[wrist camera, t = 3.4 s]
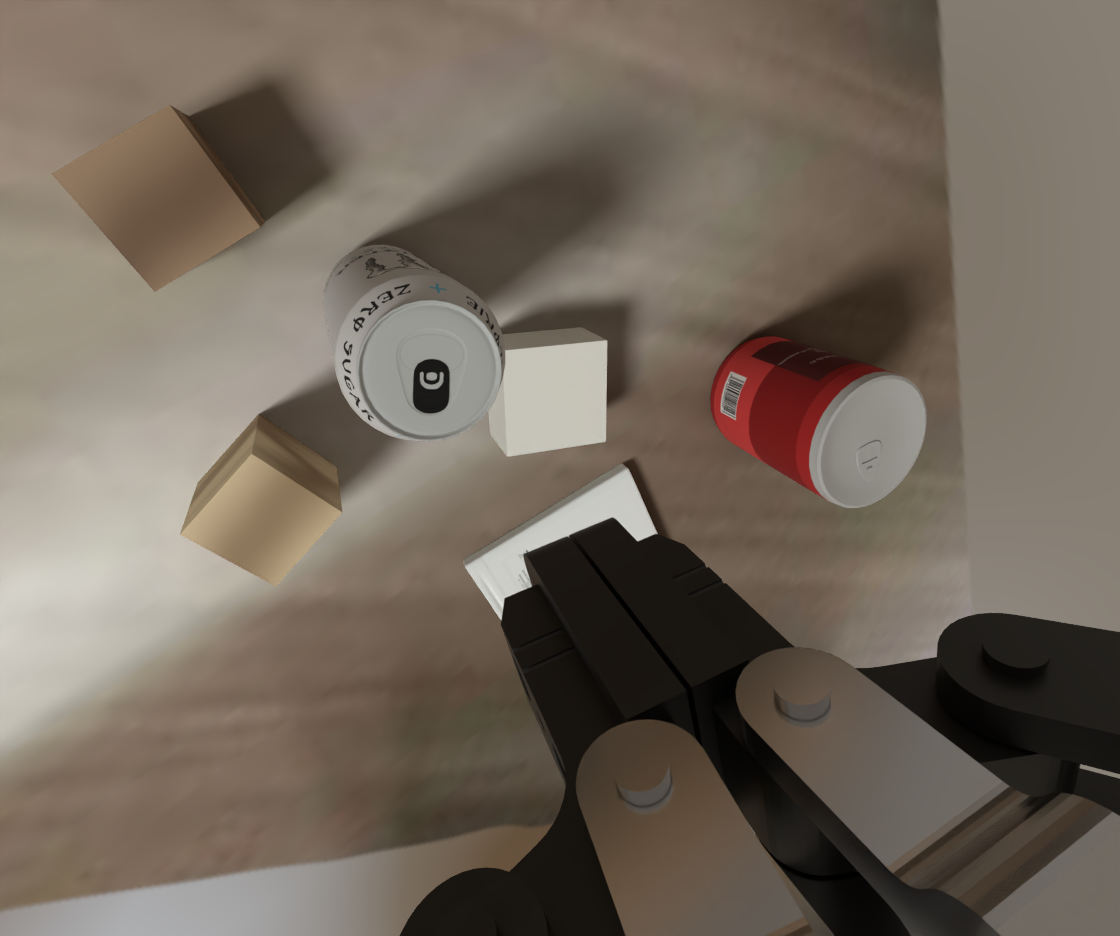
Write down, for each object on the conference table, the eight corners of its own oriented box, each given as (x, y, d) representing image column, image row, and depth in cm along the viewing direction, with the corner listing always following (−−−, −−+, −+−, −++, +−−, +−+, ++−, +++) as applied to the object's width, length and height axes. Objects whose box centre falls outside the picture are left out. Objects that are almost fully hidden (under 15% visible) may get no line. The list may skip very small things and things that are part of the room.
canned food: (730, 463, 47) (839, 534, 37) (688, 376, 43) (798, 431, 33) (813, 402, 47) (941, 456, 38) (779, 310, 43) (913, 346, 34)
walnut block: (89, 175, 28) (51, 173, 24) (189, 116, 29) (169, 104, 24) (174, 276, 31) (154, 291, 27) (265, 221, 31) (260, 227, 27)
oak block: (197, 482, 35) (180, 534, 30) (258, 413, 34) (251, 453, 29) (279, 530, 37) (275, 586, 32) (336, 466, 37) (342, 512, 32)
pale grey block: (483, 335, 37) (502, 350, 34) (580, 326, 39) (607, 340, 36) (489, 433, 40) (507, 456, 36) (580, 420, 41) (605, 441, 38)
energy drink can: (441, 247, 34) (525, 285, 22) (437, 359, 37) (512, 455, 24) (320, 237, 32) (334, 273, 19) (324, 357, 34) (338, 461, 22)
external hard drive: (657, 545, 48) (513, 636, 47) (618, 459, 44) (460, 556, 43) (668, 556, 47) (520, 650, 45) (629, 468, 43) (465, 568, 41)
